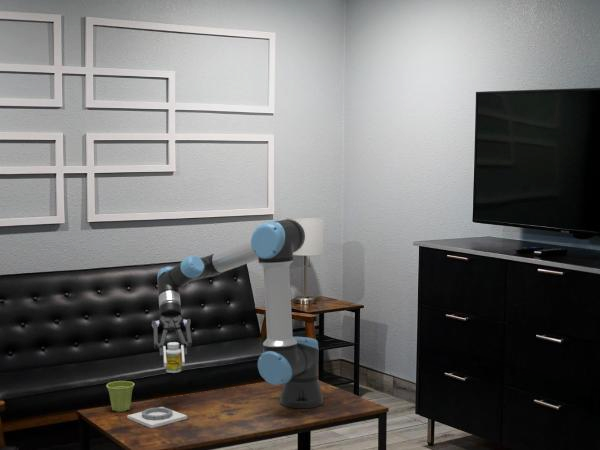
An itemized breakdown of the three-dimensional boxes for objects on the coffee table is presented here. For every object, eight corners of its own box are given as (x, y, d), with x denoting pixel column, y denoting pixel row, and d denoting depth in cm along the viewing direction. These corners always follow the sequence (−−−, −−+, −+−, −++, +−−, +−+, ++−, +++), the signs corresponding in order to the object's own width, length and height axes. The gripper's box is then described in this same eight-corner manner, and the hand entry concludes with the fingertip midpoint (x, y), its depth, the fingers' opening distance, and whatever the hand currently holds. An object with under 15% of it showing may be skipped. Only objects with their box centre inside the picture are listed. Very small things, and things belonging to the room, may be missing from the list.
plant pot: (106, 414, 297) (106, 388, 296) (106, 406, 306) (106, 381, 305) (135, 412, 299) (134, 387, 298) (134, 404, 308) (134, 380, 307)
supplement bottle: (181, 368, 306) (180, 341, 305) (182, 372, 301) (181, 344, 300) (165, 369, 305) (165, 341, 304) (166, 373, 300) (165, 345, 299)
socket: (187, 418, 292) (187, 412, 292) (151, 428, 282) (151, 421, 282) (162, 409, 302) (162, 403, 302) (127, 418, 292) (127, 411, 292)
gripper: (195, 311, 318) (200, 368, 304) (143, 313, 314) (146, 371, 300) (196, 299, 312) (202, 357, 298) (143, 301, 308) (147, 359, 294)
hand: (174, 364), depth 299 cm, fingers closed on supplement bottle, 5 cm apart
